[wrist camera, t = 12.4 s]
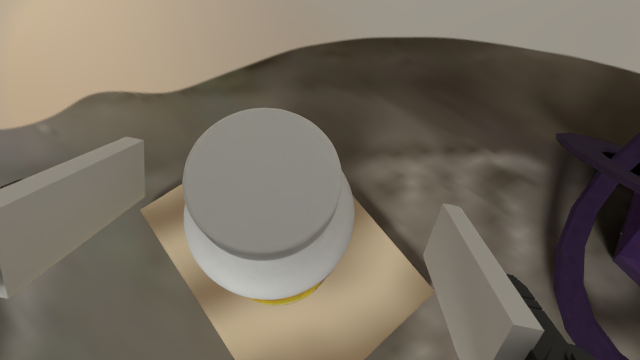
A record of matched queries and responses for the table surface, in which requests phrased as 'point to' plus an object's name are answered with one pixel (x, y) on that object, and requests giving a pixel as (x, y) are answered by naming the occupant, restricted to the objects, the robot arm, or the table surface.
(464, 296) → the robot arm
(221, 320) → the pad
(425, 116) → the table surface
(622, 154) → the decorative bottle
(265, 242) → the supplement bottle
